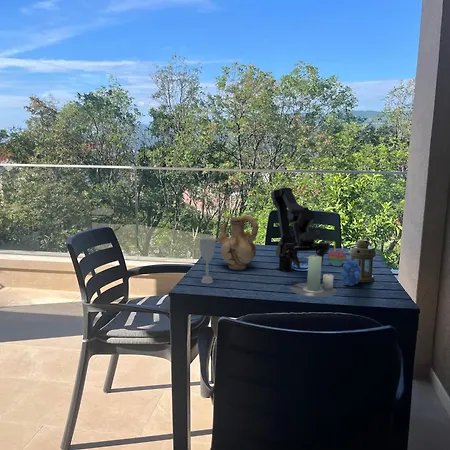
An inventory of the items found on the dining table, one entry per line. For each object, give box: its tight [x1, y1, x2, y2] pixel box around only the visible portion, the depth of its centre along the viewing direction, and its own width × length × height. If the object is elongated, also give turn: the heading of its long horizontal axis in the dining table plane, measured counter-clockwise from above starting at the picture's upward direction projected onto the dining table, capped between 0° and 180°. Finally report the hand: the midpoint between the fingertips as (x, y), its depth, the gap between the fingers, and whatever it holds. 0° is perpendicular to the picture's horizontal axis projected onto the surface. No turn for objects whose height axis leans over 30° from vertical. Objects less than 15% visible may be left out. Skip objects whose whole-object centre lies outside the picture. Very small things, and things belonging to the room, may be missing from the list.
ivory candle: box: [322, 273, 334, 289], centre depth 180 cm, size 4×4×6 cm
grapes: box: [340, 258, 362, 287], centre depth 184 cm, size 12×7×12 cm, turn 128°
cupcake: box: [327, 240, 347, 267], centre depth 220 cm, size 9×8×12 cm
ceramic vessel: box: [215, 215, 259, 271], centre depth 210 cm, size 18×19×25 cm
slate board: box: [289, 282, 338, 298], centre depth 178 cm, size 18×18×1 cm
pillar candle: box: [306, 254, 323, 291], centre depth 177 cm, size 5×5×14 cm
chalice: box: [198, 236, 217, 284], centre depth 188 cm, size 7×7×18 cm
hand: (310, 267), depth 180 cm, fingers open, 9 cm apart
